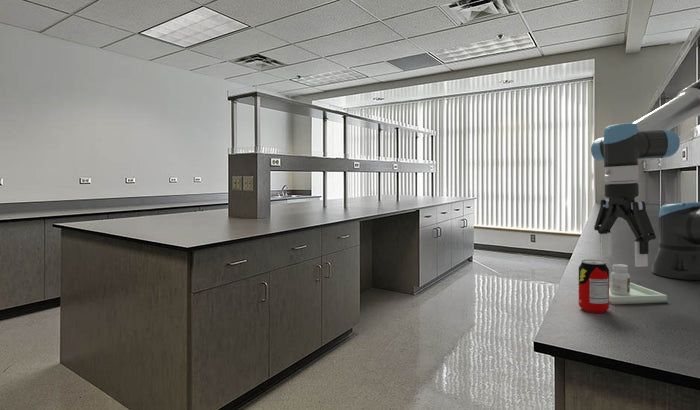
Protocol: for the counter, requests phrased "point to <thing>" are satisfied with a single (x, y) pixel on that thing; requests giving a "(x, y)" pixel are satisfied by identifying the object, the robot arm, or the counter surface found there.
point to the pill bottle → (620, 280)
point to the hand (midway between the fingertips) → (622, 261)
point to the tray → (637, 296)
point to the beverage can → (594, 286)
